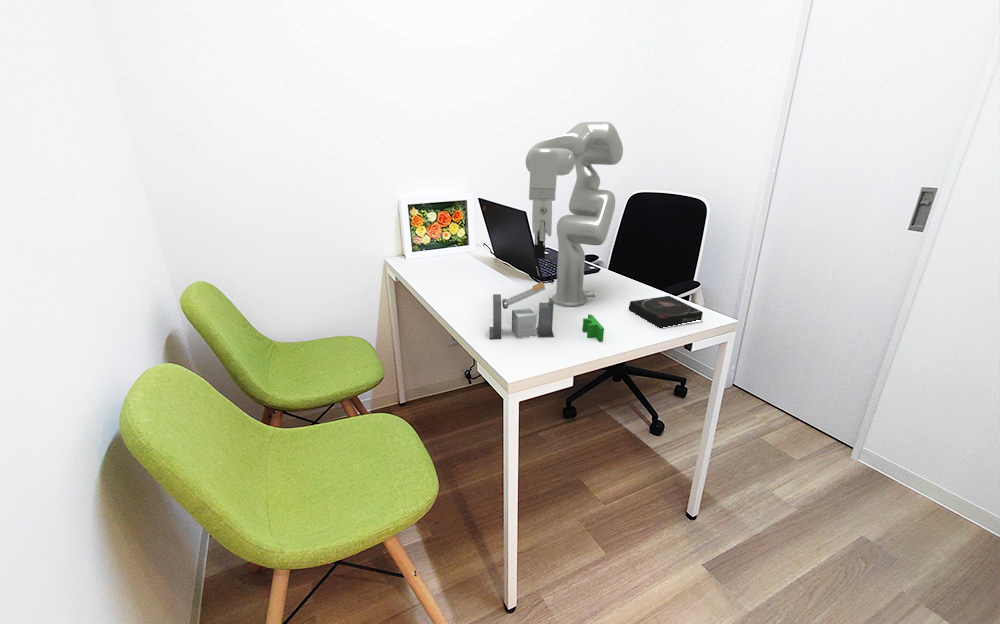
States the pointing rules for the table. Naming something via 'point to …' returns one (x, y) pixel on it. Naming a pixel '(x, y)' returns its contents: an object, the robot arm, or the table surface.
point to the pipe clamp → (593, 328)
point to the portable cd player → (665, 311)
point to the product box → (523, 322)
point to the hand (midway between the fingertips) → (538, 257)
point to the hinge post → (496, 318)
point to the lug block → (545, 319)
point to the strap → (523, 295)
